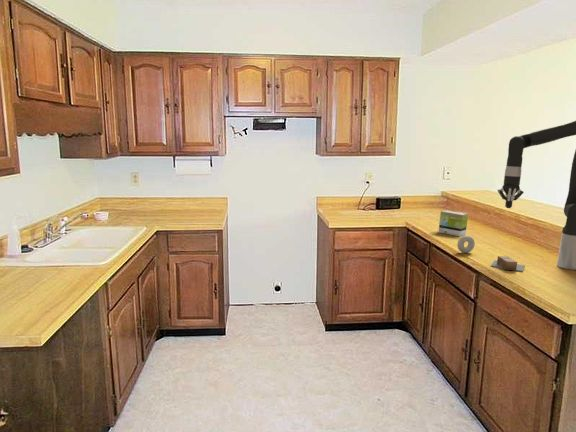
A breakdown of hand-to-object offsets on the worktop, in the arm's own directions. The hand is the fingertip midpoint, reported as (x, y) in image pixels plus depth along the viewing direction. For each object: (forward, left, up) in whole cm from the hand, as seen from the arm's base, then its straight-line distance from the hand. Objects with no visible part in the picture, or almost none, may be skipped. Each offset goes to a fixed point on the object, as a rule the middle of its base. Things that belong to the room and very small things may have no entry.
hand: (508, 207), depth 229 cm
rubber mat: (-5, +17, -27) cm, 33 cm away
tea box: (+36, -45, -27) cm, 64 cm away
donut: (+18, +4, -27) cm, 33 cm away
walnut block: (-2, +17, -24) cm, 30 cm away
